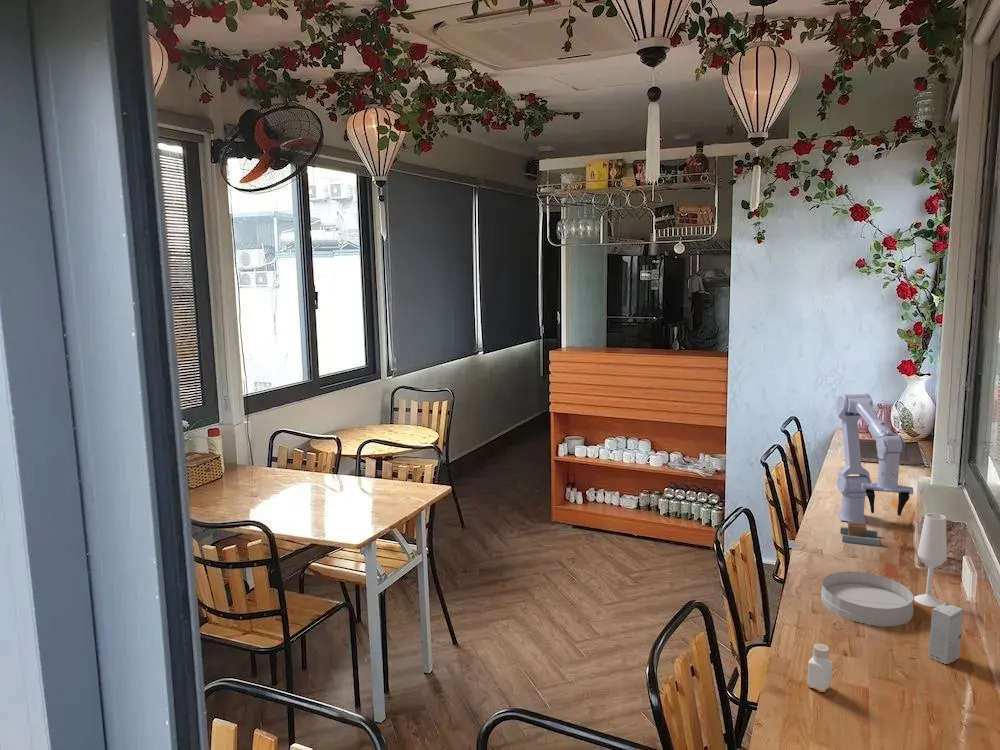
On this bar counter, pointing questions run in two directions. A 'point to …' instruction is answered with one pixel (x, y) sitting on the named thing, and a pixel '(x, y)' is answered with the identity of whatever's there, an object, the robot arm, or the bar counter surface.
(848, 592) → the dish
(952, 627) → the skincare box
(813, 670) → the pepper shaker
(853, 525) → the walnut block
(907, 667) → the bar counter surface
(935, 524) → the champagne flute
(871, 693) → the bar counter surface
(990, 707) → the bar counter surface
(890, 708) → the bar counter surface
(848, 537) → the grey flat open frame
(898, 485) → the robot arm
